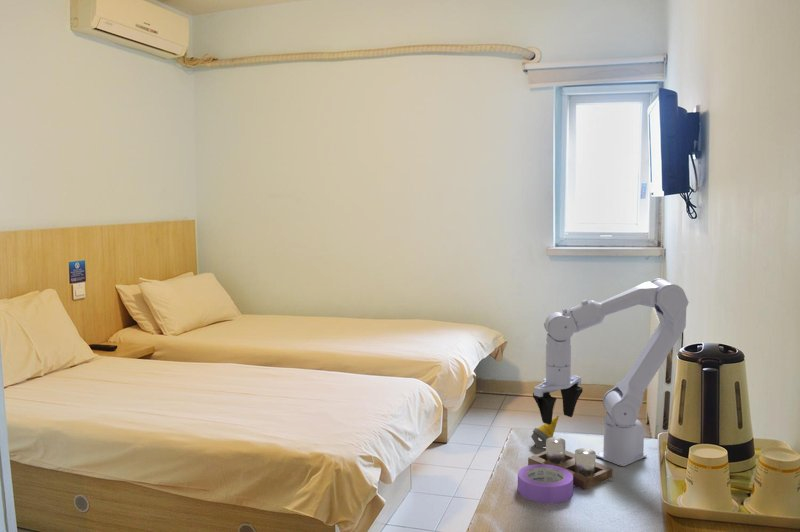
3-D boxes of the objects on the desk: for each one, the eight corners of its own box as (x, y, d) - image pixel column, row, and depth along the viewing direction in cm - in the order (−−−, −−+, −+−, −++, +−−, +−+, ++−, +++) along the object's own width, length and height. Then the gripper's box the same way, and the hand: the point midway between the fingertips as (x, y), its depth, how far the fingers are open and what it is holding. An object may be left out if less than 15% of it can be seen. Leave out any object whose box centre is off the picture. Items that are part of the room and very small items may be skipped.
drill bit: (527, 443, 180) (550, 412, 182) (544, 456, 177) (568, 425, 179) (524, 437, 175) (548, 406, 177) (542, 450, 172) (566, 418, 174)
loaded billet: (554, 460, 168) (554, 435, 167) (569, 466, 164) (569, 441, 163) (541, 465, 165) (542, 440, 164) (556, 471, 162) (556, 446, 161)
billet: (583, 472, 161) (584, 446, 160) (599, 478, 158) (599, 452, 157) (570, 477, 159) (570, 451, 158) (586, 483, 155) (586, 457, 154)
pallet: (556, 454, 171) (556, 446, 171) (612, 477, 158) (612, 468, 158) (528, 465, 165) (528, 457, 165) (583, 489, 152) (584, 480, 152)
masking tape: (522, 476, 160) (522, 460, 159) (575, 483, 156) (576, 467, 155) (512, 499, 149) (513, 482, 148) (569, 507, 145) (569, 490, 144)
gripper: (565, 355, 174) (564, 408, 176) (524, 365, 165) (523, 421, 167) (588, 361, 168) (587, 416, 170) (547, 372, 160) (546, 430, 161)
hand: (557, 419), depth 168 cm, fingers open, 7 cm apart
